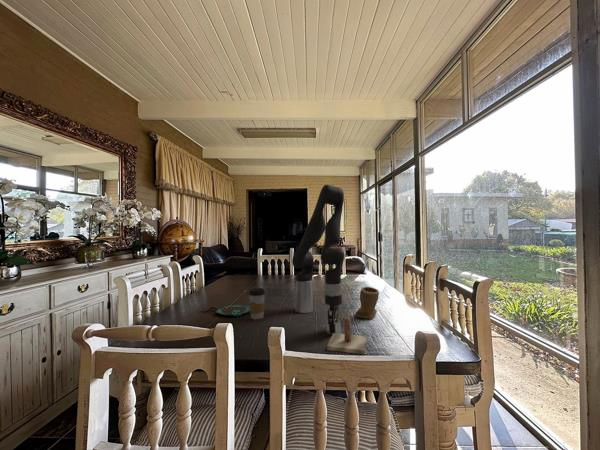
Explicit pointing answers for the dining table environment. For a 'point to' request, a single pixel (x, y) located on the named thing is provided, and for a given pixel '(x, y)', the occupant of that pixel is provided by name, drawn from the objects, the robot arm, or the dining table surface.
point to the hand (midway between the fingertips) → (333, 329)
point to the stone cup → (367, 302)
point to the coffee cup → (257, 302)
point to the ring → (337, 326)
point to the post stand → (347, 341)
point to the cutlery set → (234, 310)
